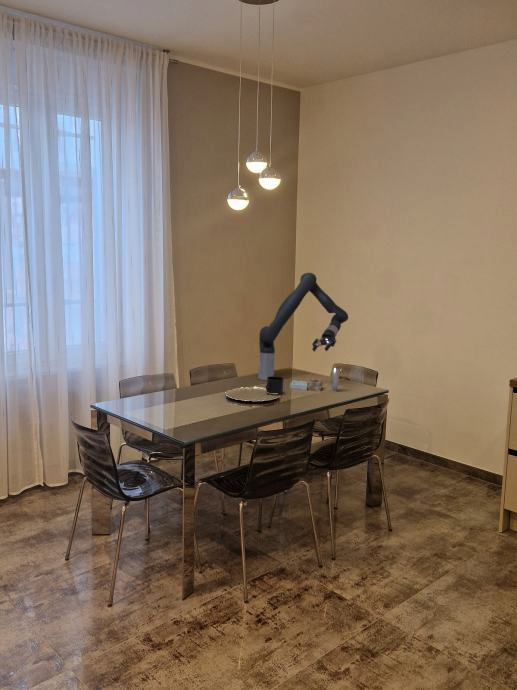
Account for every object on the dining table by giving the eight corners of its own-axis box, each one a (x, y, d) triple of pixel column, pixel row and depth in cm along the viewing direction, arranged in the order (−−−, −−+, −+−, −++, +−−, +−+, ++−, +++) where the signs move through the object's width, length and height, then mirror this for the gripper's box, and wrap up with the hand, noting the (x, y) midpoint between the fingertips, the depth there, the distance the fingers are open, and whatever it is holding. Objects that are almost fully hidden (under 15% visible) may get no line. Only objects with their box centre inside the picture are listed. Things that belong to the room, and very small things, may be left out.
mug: (259, 393, 358) (260, 378, 356) (274, 390, 366) (275, 375, 365) (271, 397, 351) (272, 381, 350) (286, 393, 360) (286, 378, 358)
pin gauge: (331, 391, 369) (332, 366, 366) (331, 389, 373) (333, 365, 370) (337, 391, 368) (338, 367, 366) (337, 390, 372) (339, 365, 369)
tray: (289, 388, 372) (290, 384, 371) (293, 384, 381) (293, 380, 381) (306, 390, 369) (306, 385, 369) (309, 386, 379) (309, 382, 378)
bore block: (306, 389, 370) (307, 381, 369) (308, 386, 378) (309, 378, 377) (320, 391, 368) (320, 383, 367) (322, 388, 376) (322, 380, 375)
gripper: (318, 329, 385) (307, 345, 375) (338, 328, 377) (327, 344, 366) (322, 339, 389) (311, 355, 378) (342, 338, 380) (332, 354, 370)
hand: (319, 350), depth 372 cm, fingers open, 8 cm apart
